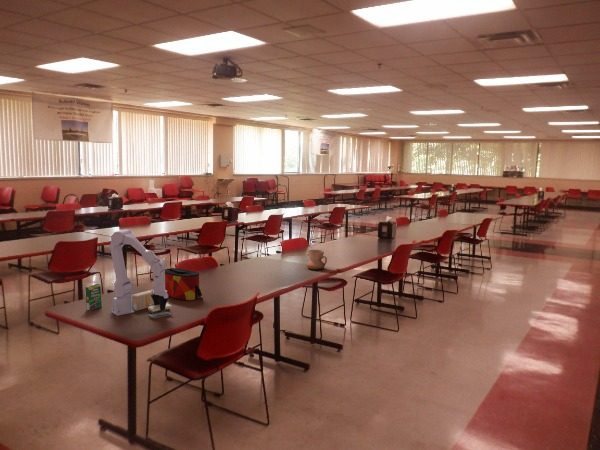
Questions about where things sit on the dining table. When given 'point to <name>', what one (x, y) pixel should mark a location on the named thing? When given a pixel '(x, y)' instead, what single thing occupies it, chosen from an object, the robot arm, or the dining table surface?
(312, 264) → the ceramic jug
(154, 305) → the pen box
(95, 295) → the coffee box
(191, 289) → the bag
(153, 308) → the lid
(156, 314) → the mat
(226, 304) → the dining table surface
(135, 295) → the supplement box
